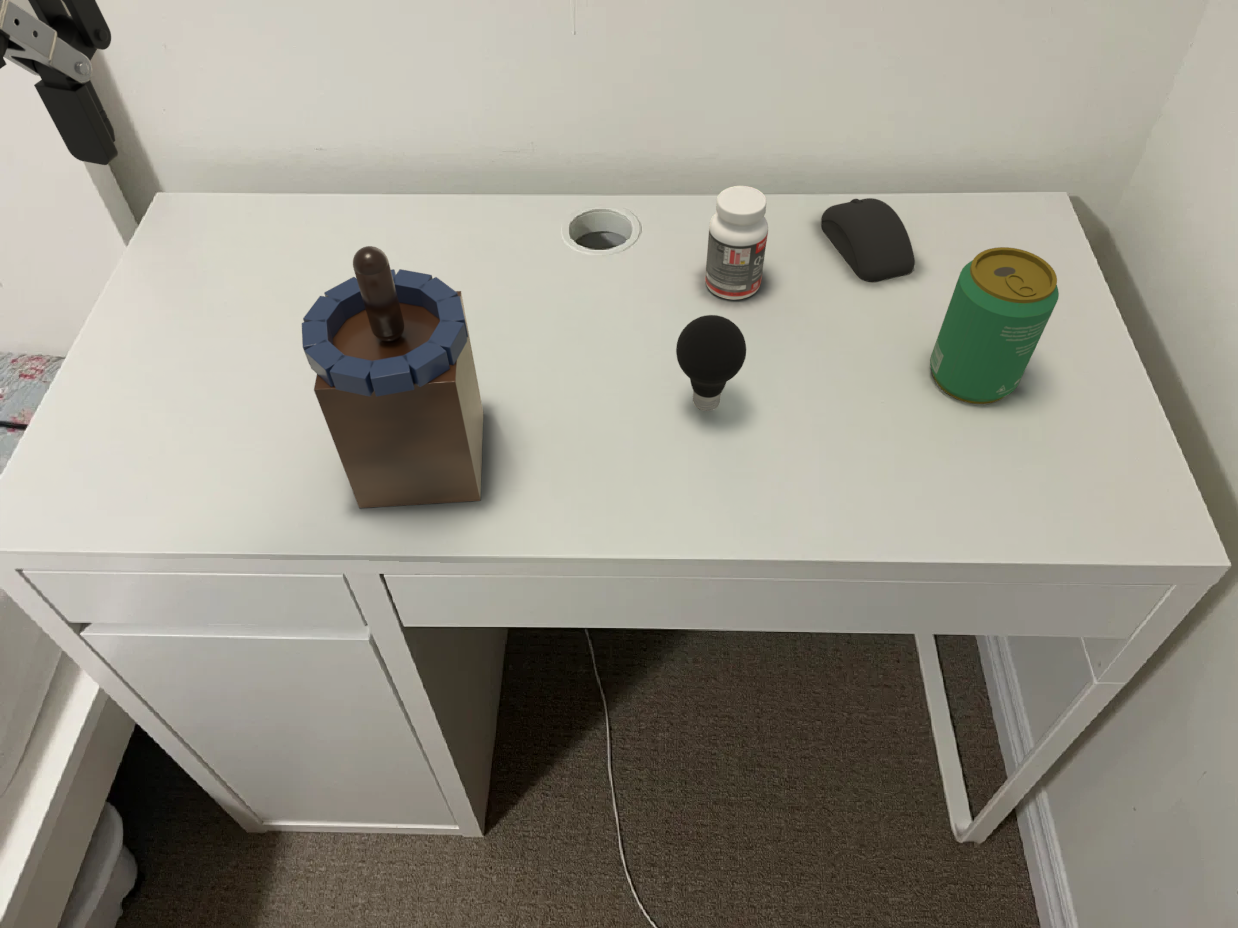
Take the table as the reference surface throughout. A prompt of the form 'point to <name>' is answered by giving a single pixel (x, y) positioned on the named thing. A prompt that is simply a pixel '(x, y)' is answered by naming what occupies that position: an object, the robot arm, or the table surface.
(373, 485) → the stand
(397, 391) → the ring
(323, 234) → the table surface
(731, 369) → the light bulb
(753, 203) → the pill bottle
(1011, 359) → the beverage can
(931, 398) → the table surface
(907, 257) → the computer mouse
